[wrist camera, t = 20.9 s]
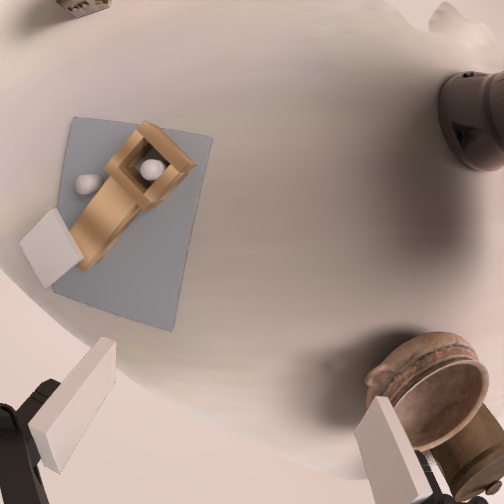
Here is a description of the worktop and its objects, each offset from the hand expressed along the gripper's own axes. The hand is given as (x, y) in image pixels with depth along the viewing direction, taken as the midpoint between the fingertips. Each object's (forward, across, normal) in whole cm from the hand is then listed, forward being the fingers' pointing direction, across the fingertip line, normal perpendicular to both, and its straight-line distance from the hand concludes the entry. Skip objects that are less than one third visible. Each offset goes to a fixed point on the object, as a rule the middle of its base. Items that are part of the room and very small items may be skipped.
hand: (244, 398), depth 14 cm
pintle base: (+27, -19, 0) cm, 33 cm away
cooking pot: (+27, +29, -12) cm, 41 cm away
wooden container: (+27, +50, -25) cm, 62 cm away
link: (+25, -17, +3) cm, 31 cm away
